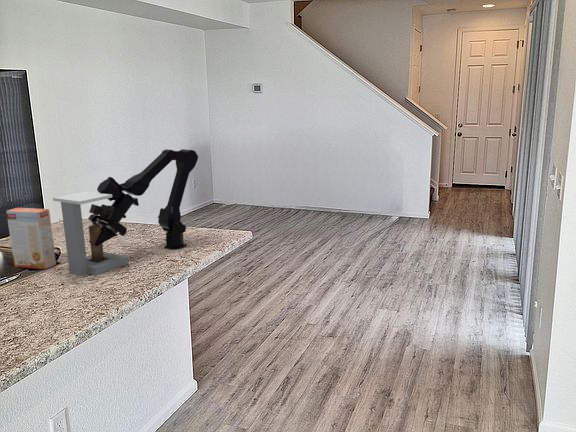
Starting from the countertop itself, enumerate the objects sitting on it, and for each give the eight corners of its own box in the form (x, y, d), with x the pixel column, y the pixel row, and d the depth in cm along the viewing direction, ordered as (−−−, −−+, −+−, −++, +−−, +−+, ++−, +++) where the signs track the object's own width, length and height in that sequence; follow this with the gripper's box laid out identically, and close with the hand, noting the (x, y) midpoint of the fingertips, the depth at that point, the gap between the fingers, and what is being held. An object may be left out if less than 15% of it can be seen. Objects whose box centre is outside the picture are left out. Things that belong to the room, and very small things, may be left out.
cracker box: (57, 265, 189) (50, 208, 185) (44, 270, 184) (36, 212, 179) (26, 261, 194) (18, 206, 189) (13, 267, 188) (5, 210, 184)
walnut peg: (103, 259, 189) (99, 224, 186) (105, 262, 186) (101, 226, 183) (91, 260, 187) (87, 225, 184) (93, 263, 184) (89, 227, 181)
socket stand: (102, 257, 196) (95, 189, 190) (128, 263, 189) (121, 192, 183) (62, 271, 182) (52, 197, 176) (88, 277, 175) (79, 201, 169)
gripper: (90, 192, 190) (63, 227, 185) (115, 198, 177) (87, 236, 172) (113, 209, 198) (87, 244, 192) (138, 217, 185) (111, 254, 180)
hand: (92, 244), depth 184 cm, fingers closed on walnut peg, 4 cm apart
